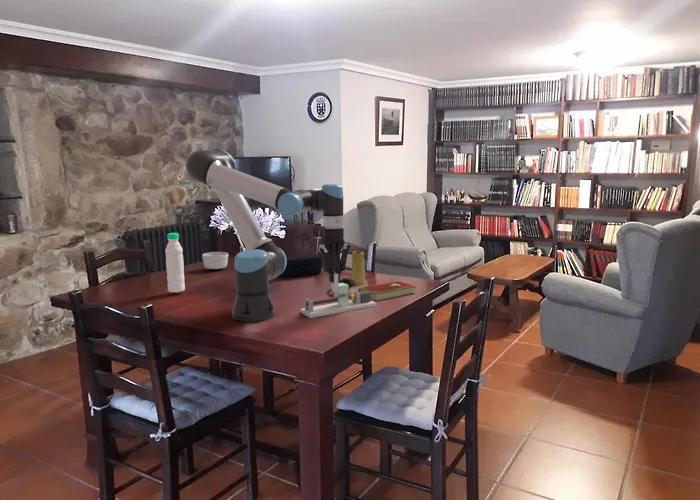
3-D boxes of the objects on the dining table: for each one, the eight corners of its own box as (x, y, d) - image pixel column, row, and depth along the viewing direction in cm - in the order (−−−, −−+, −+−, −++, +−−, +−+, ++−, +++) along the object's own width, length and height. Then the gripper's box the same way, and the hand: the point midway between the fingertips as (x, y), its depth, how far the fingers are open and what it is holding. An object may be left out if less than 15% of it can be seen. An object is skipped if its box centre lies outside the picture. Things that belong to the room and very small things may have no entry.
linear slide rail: (310, 318, 194) (310, 303, 193) (300, 312, 201) (300, 298, 200) (376, 306, 208) (376, 292, 207) (365, 301, 215) (365, 288, 214)
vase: (351, 282, 248) (350, 251, 246) (364, 281, 249) (364, 250, 246) (352, 285, 242) (351, 253, 240) (365, 284, 243) (365, 253, 240)
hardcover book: (358, 296, 224) (358, 286, 224) (398, 289, 236) (398, 280, 235) (375, 303, 215) (375, 292, 214) (416, 295, 226) (416, 285, 225)
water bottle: (182, 292, 232) (178, 234, 227) (165, 292, 232) (161, 234, 227) (187, 288, 239) (183, 232, 234) (170, 288, 239) (167, 232, 234)
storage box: (312, 269, 279) (311, 249, 278) (323, 275, 265) (323, 254, 263) (272, 272, 271) (272, 253, 269) (282, 279, 256) (281, 258, 255)
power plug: (327, 289, 231) (349, 273, 228) (338, 303, 231) (360, 287, 228) (324, 292, 226) (346, 276, 223) (335, 307, 226) (358, 290, 223)
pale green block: (339, 304, 202) (339, 286, 200) (333, 302, 205) (333, 284, 204) (348, 303, 204) (348, 285, 202) (342, 300, 207) (342, 282, 206)
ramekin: (222, 263, 294) (221, 250, 293) (233, 267, 284) (232, 254, 283) (198, 266, 286) (198, 253, 285) (209, 270, 276) (208, 257, 275)
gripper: (322, 229, 191) (323, 295, 195) (354, 226, 198) (355, 290, 202) (312, 227, 198) (314, 291, 202) (344, 224, 204) (345, 286, 208)
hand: (334, 290), depth 202 cm, fingers closed
